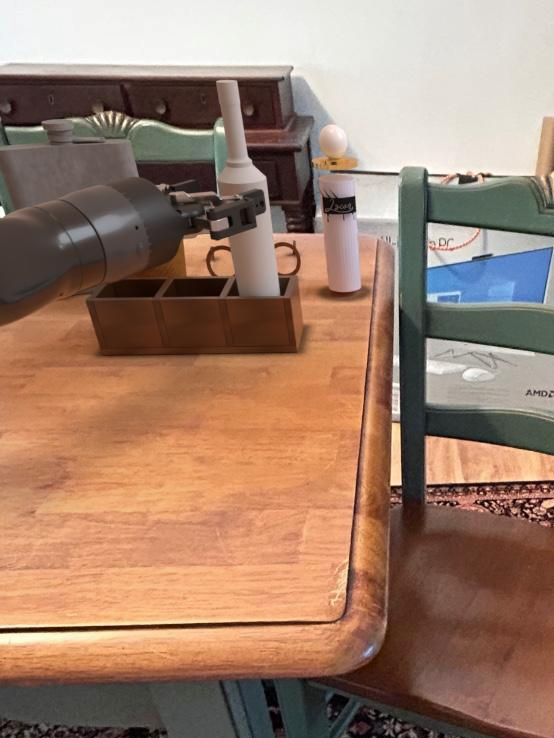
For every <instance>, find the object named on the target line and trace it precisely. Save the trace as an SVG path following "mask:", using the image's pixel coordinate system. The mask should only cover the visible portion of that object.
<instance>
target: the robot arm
mask: <svg viewBox="0 0 554 738" xmlns="http://www.w3.org/2000/svg"><path fill="white" fill-rule="evenodd" d="M204 202H209V204H210V207H209V208H208V209H206V208H205V205H204ZM223 204H224V205H223ZM265 211H266V203H265V195H264V192H263V190H262V189H253V190H249V191H246V192H243V193H240V194H234V195H231V196H220V195H218V194H217V193H216V192H215V191H203V192H202V188H201V183H200V182H199V180H196V179H188V180H185V181H182V182H181V181H180V182H178V183H177V182H176V183H174V184H166V183H160V184H155V183H153V182H152V181H150V180H148V179H146V178H143V177H140V176H139V177H128V178H124V179H120V180H116V181H112V182H108V183H104V184H100V185H97V186H93V187H89V188H85V189H81V190H77V191H74V192H71V193H69V194H67V195H65V196H63V197H61V198H59V199H56V200H52V201H49V202H45V203H41V204H37V205H33V206H29V207H26V208H23V209H20V210H17V211H12V212H9V213H7V214H6V215H4V216H3V217H0V328H3V327H6V326H8V325H11V324H14V323H16V322H18V321H20V320H23V319H25V318H27V317H29V316H30V315H32V314H34V313H36V312H38V311H40V310H42V309H43V308H45V307H47V306H48V305H50V304H52V303H53V302H54V301H57V300H61V299H65V298H68V297H71V296H75V295H74V294H76V293H79V292H82V291H84V290H87V289H90V288H92V287H95V286H99V285H103V284H108V283H114V282H117V281H120V280H123V279H126V278H128V277H131V276H133V275H136V274H139V273H141V272H144V271H147V270H149V269H152V268H154V267H157V266H160V265H162V264H165V263H167V262H169V261H171V260H172V259H173V258H174V257H175V256H176V254H177V252H178V249H179V246H180V243H181V241H182V239H183V240H191V239H192V240H193V239H195V238H197V237H198V236H202V235H209V238H210V240H212V241H221V240H223V239H228V237H230V236H233V235H236V234H239V233H242V232H244V231H247V230H250V229H254V228H256V227H257V222H256V216H257V215H260V214H263V213H265Z"/></svg>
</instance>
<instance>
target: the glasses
mask: <svg viewBox="0 0 554 738" xmlns="http://www.w3.org/2000/svg"><path fill="white" fill-rule="evenodd" d="M274 247H275V250H276V249H277V248H281V247H285V248H288V249H290V250H292V255H295V258H296V265H295V268H294V269H293V271H291V272H288V273H281V272H279V271H277V272H278V276H285V275H290V276H291V275H297V274H299V272H300V270H301V265H302V261H301V255H300V252H299V251H298V248H297V243H296V240H294V239H293V240H292V243H290V242H287V241H279V242H276V243H275V242H274ZM217 251H227V252H229V253H231V250H230V246H228V245H215V246H214V245H211V246H210V248H209V250H208V252H207V254H206V256H205V257H206V258H205V264H206V268H207V272H208V273H209V274H210V276H219V275H218V274H216V273H215V271H214V270H213V267H212V265H211V261H212V260H215V253H216V252H217ZM232 276H235V273H233V274H232Z"/></svg>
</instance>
